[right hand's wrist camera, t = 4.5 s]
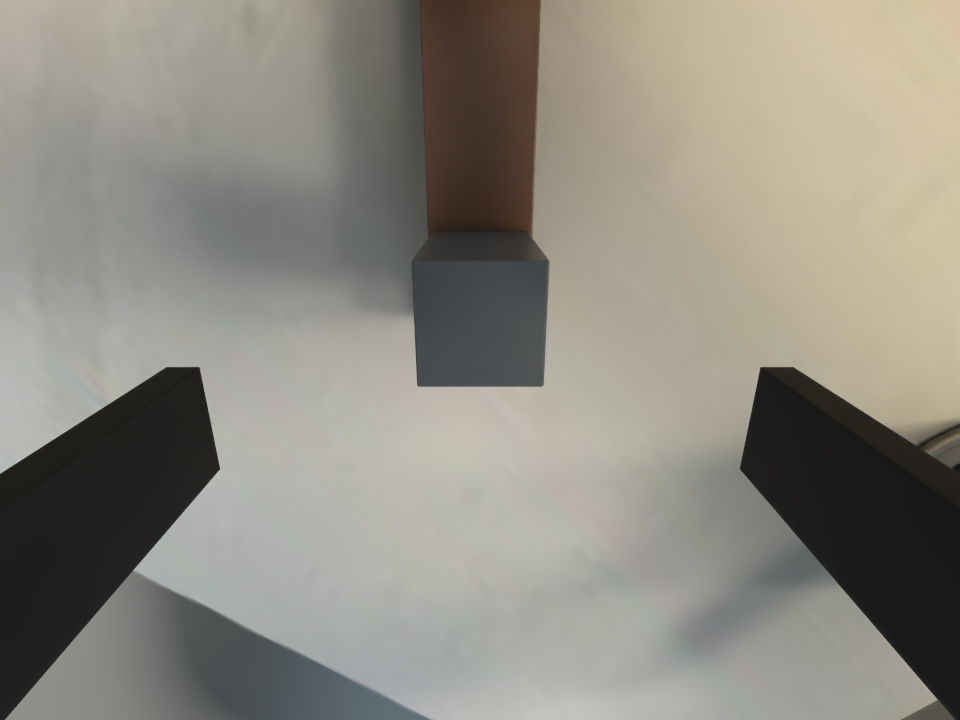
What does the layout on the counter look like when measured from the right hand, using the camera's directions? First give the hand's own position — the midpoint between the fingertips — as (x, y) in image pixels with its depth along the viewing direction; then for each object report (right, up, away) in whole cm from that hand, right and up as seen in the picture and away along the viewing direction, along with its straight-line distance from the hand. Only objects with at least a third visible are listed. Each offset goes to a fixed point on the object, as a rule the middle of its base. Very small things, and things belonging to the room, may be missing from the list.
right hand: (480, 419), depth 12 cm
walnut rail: (0, +16, +18) cm, 24 cm away
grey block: (0, +6, +16) cm, 17 cm away
